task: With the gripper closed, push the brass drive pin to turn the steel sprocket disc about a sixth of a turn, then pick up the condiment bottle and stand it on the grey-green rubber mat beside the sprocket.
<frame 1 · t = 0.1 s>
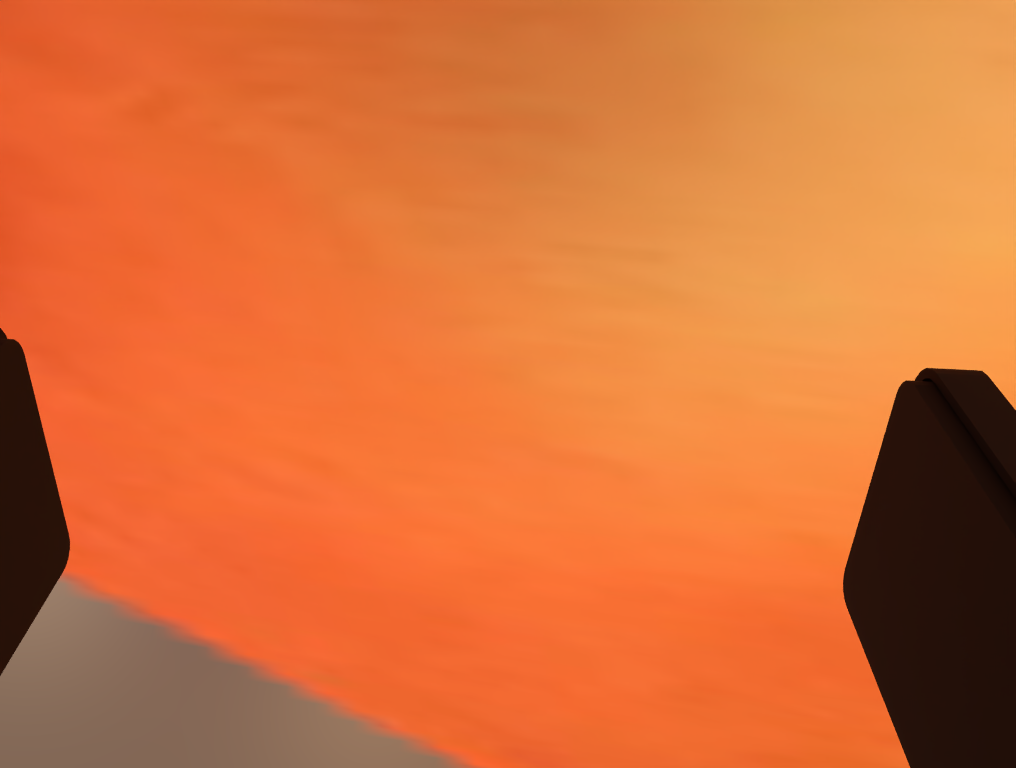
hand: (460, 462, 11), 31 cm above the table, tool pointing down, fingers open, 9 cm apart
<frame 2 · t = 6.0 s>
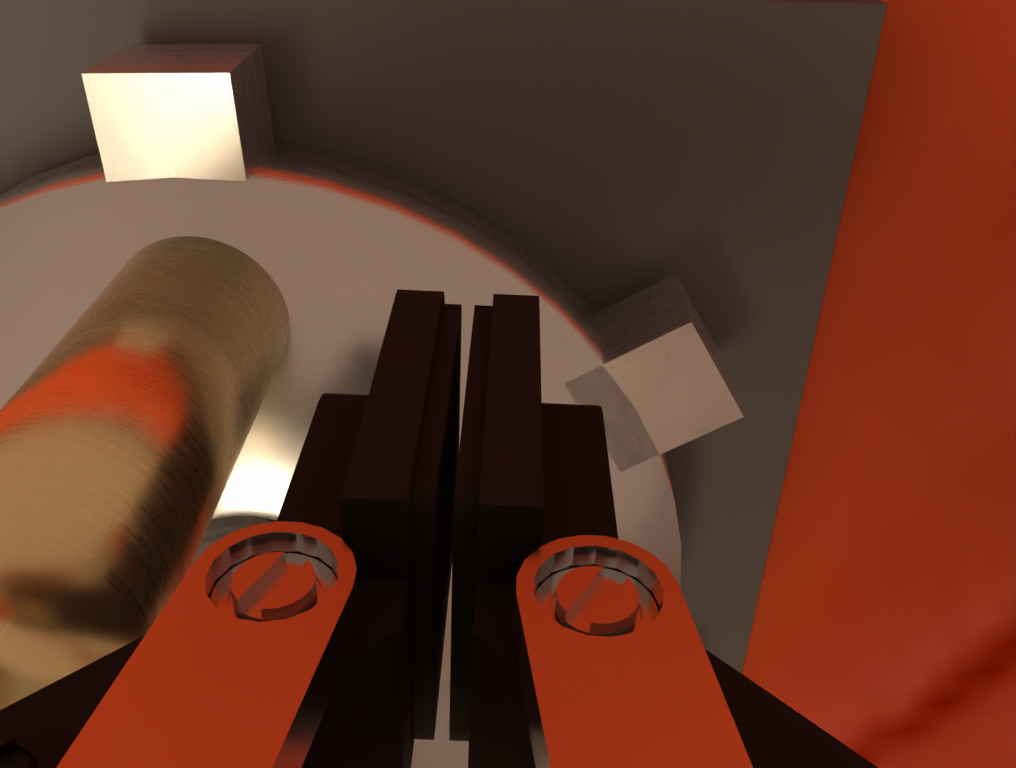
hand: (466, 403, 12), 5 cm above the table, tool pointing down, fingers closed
sprocket base: (288, 490, 18), on the table
sprocket: (218, 692, 14), point 5 cm above the table, hinge at 2.1°, touching gripper
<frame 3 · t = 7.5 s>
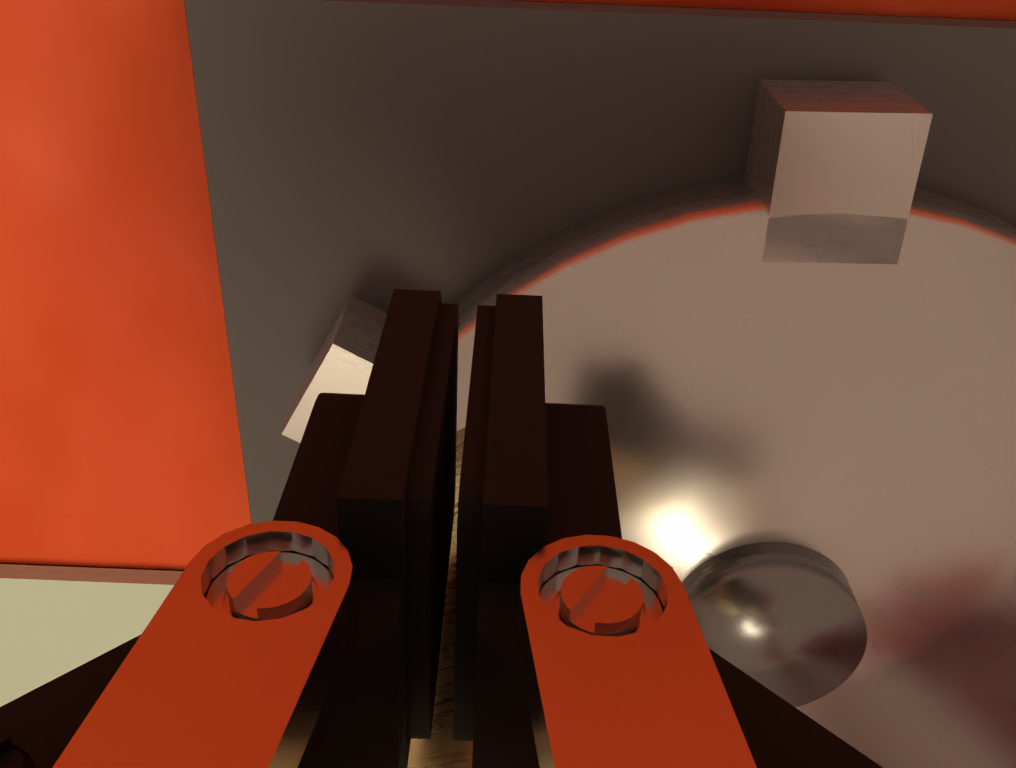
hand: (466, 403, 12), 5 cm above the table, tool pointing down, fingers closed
sprocket base: (732, 513, 18), on the table
mat: (111, 734, 22), on the table
sprocket: (791, 718, 14), point 5 cm above the table, hinge at 61.4°
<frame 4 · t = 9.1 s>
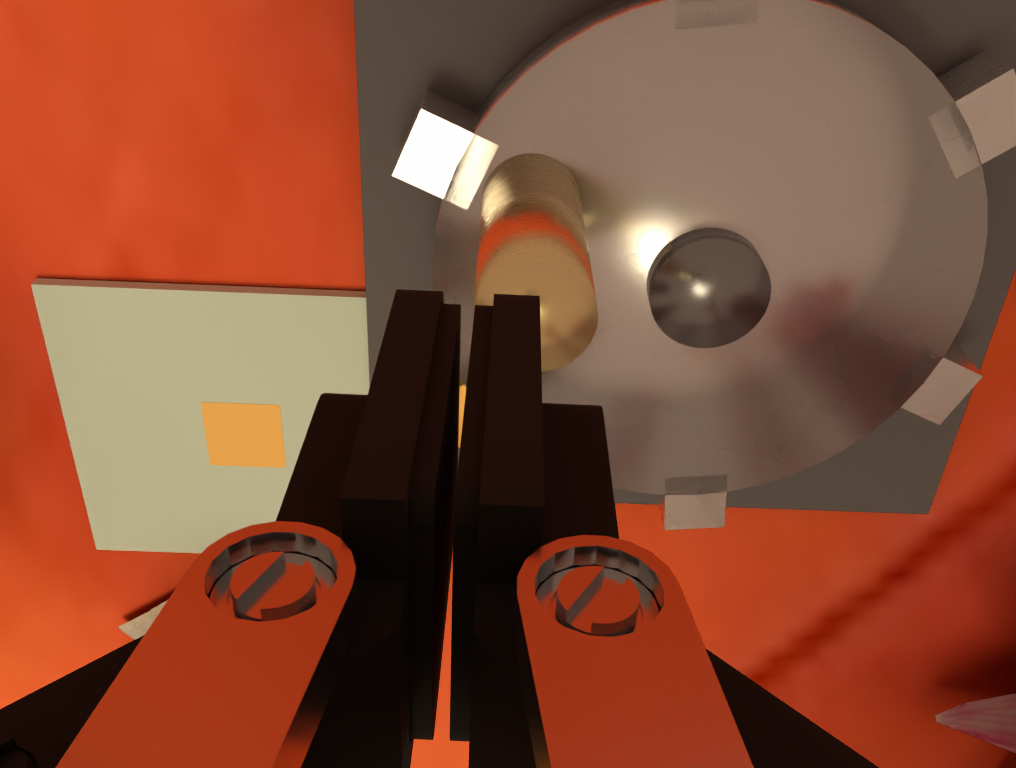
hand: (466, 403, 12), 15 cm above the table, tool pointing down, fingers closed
condiment: (274, 648, 36), on the table, touching mat
sprocket base: (689, 240, 27), on the table
mat: (247, 428, 31), on the table
sprocket: (720, 323, 23), point 5 cm above the table, hinge at 66.4°
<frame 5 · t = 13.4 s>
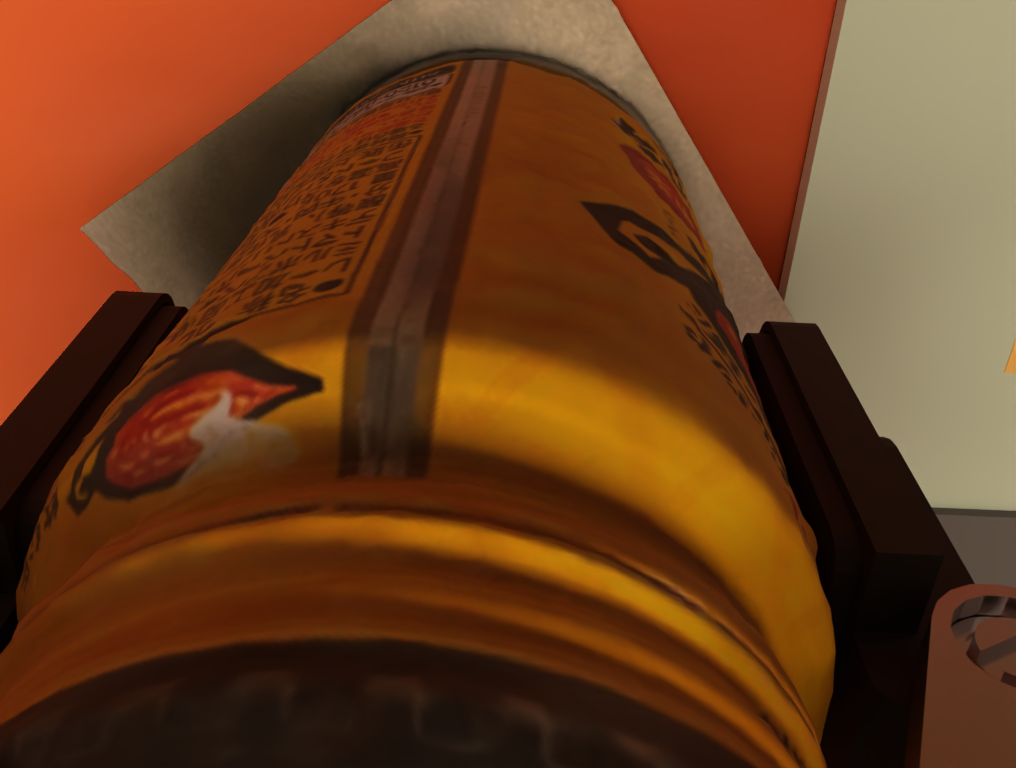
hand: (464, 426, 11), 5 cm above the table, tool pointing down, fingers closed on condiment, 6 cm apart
condiment: (445, 264, 15), on the table, touching gripper, mat
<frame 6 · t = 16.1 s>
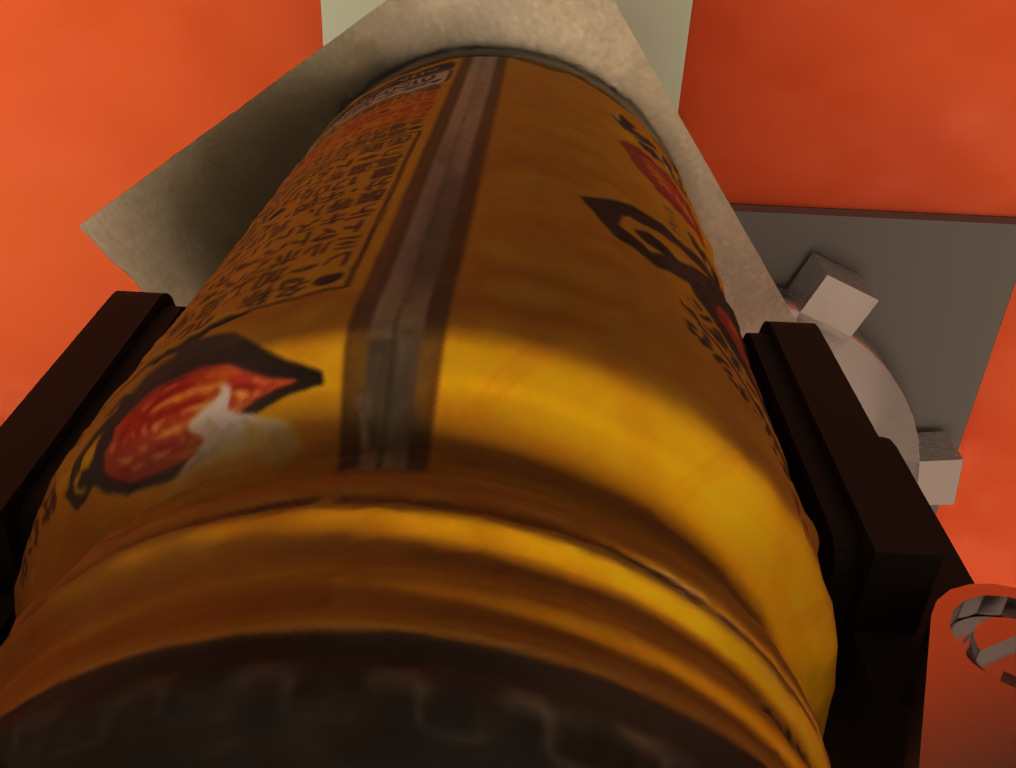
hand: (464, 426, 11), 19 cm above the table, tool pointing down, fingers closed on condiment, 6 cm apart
condiment: (444, 262, 15), point 14 cm above the table, touching gripper
sprocket base: (688, 448, 34), on the table
mat: (504, 56, 27), on the table
sprocket: (710, 537, 30), point 5 cm above the table, hinge at 66.4°
when the fingers open (6 cm above the table, at t = 18.7 s): condiment drops 1 cm, resting on mat, sprocket base.
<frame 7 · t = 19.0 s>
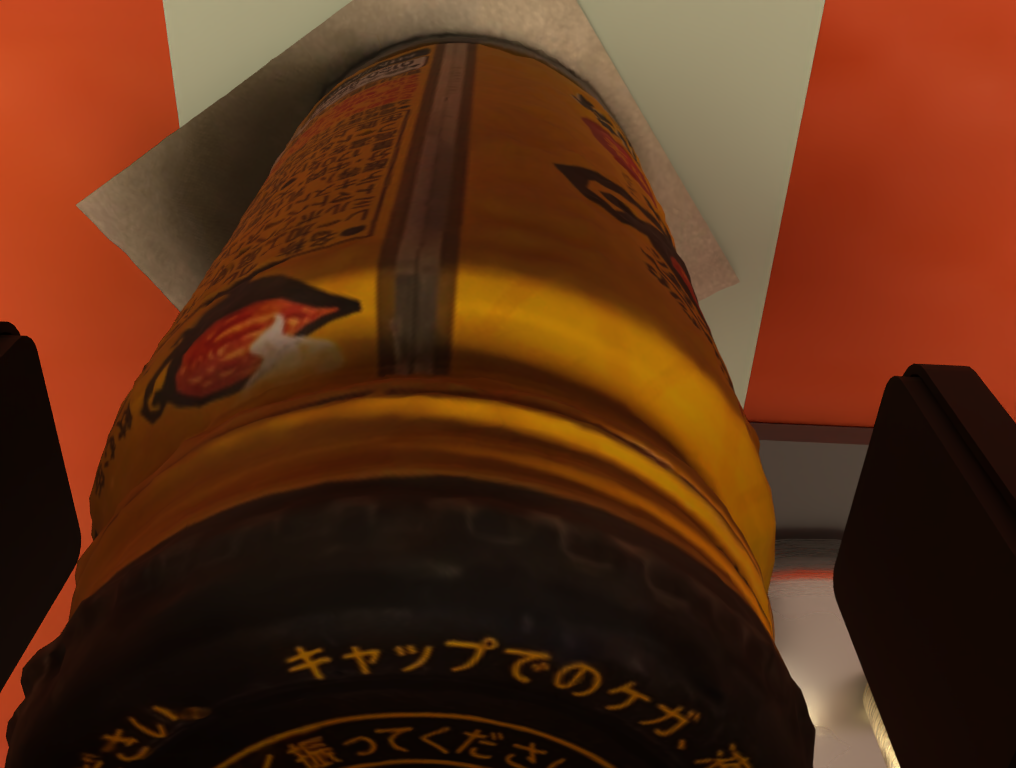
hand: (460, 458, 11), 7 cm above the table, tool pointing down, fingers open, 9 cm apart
condiment: (419, 233, 17), resting on mat, sprocket base
sprocket base: (756, 734, 24), on the table
mat: (485, 216, 17), on the table
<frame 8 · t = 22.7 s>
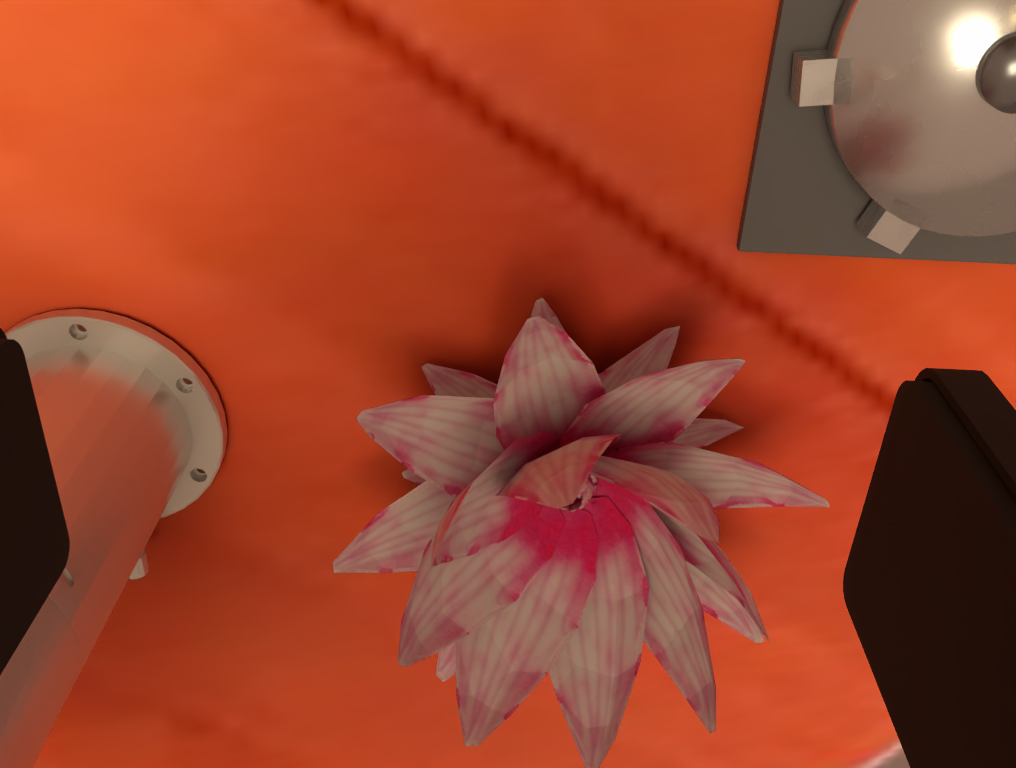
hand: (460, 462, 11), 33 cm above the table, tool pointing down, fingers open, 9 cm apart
decorative flower: (567, 433, 51), on the table
sprocket base: (988, 55, 40), on the table
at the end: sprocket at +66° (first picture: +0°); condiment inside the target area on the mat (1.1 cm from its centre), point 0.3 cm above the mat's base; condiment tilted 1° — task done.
